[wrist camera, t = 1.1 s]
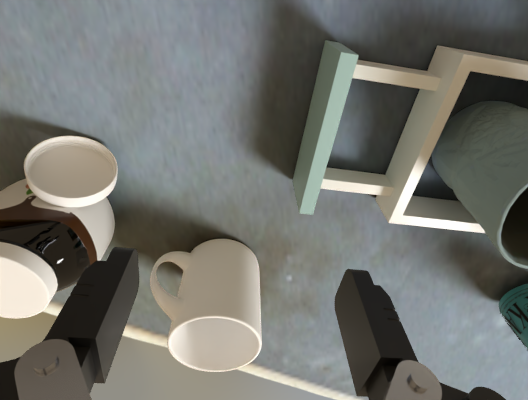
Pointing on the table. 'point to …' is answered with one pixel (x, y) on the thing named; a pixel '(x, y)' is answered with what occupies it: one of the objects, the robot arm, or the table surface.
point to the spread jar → (54, 221)
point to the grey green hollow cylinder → (490, 171)
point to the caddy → (410, 143)
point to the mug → (213, 306)
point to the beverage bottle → (516, 311)
